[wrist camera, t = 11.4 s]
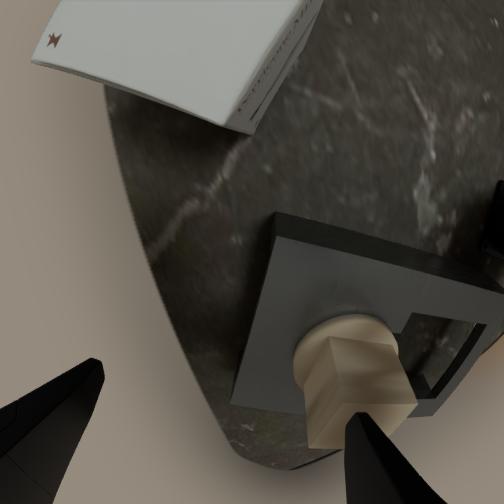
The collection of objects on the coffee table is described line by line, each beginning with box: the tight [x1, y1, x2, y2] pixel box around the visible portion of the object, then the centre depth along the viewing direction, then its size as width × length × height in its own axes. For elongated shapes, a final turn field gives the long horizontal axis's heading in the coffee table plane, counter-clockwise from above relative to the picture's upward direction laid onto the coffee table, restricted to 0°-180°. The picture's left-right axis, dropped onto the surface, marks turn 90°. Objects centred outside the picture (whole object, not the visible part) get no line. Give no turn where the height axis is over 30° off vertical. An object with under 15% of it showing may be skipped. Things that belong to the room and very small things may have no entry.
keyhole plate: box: [230, 211, 504, 418], centre depth 20 cm, size 20×14×5 cm
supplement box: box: [31, 0, 323, 135], centre depth 10 cm, size 7×7×13 cm
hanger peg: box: [293, 314, 418, 449], centre depth 17 cm, size 7×7×10 cm
